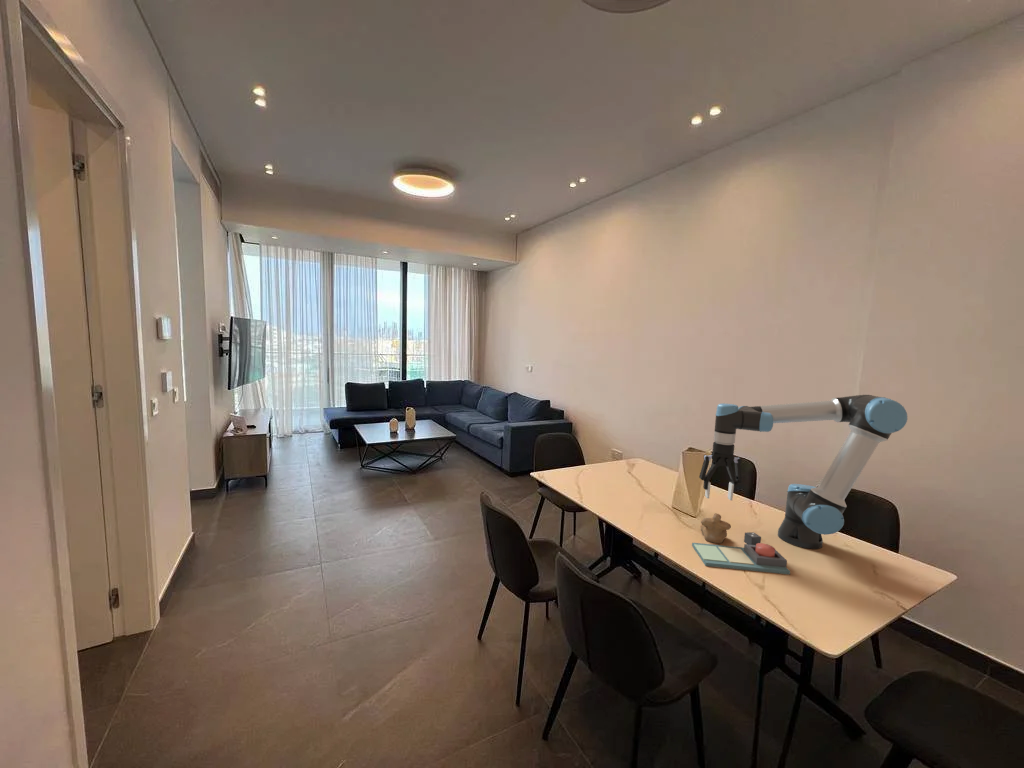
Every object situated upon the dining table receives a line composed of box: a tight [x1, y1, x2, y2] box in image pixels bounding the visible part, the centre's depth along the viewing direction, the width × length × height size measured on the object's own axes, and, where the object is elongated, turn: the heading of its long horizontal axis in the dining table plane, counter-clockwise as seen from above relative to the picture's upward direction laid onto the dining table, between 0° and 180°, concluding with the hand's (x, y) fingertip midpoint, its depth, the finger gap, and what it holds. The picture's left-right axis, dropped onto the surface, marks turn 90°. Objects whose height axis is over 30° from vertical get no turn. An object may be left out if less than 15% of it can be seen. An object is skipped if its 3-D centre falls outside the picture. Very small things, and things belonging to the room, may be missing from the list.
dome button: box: [755, 542, 776, 557], centre depth 150 cm, size 6×6×4 cm
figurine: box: [700, 513, 732, 544], centre depth 165 cm, size 11×9×15 cm
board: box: [691, 542, 791, 575], centre depth 151 cm, size 28×15×4 cm, turn 83°
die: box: [743, 531, 762, 545], centre depth 163 cm, size 4×4×4 cm
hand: (718, 498), depth 165 cm, fingers open, 8 cm apart
